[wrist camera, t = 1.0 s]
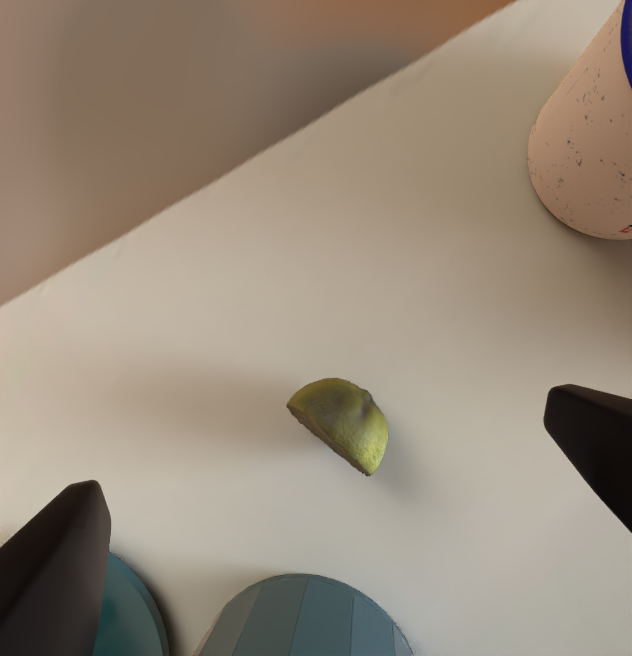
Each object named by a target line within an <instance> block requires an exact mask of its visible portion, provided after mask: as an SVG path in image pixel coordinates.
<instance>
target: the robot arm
mask: <svg viewBox="0 0 632 656" xmlns="http://www.w3.org/2000/svg"><path fill="white" fill-rule="evenodd" d="M544 426H545V428H546V430H547V432H548V433H549V434H550V436H551V437H552V438H553V440H554V441H555V442H556V443H557V445H558V446H559V447H560V449H561V450H562V451H563V453H564V454H565V455H566V456H567V458H568V459H569V460H570V462H571V463H572V464H573V465H574V467H575V468H576V469H577V471H578V472H579V473H580V474H581V476H582V477H583V478H584V480H585V481H586V482H587V483H588V485H589V486H590V487H591V488H592V490H593V491H594V492H595V493H596V494H597V495H598V497H599V498H600V499H601V500H602V501H603V502H604V503H605V504H606V505H607V507H608V508H609V509H610V510H611V511H612V512H613V513H614V514H615V515H616V516H617V517H618V519H619V520H620V521H621V522H622V523H623V524H624V525H625V526H626V527H627V528H628V529H629V531H630V532H631V533H632V399H629V398H625V397H621V396H617V395H613V394H609V393H605V392H601V391H597V390H593V389H589V388H585V387H581V386H577V385H573V384H565V385H561V386H556V387H553V388H551V389H550V391H549V393H548V397H547V402H546V408H545V413H544ZM110 535H111V517H110V513H109V510H108V507H107V504H106V501H105V498H104V495H103V492H102V489H101V486H100V484H99V483H98V482H97V481H95V480H88V481H83V482H78V483H74V484H71V485H69V486H67V487H66V488H65V489H64V490H63V491H62V492H61V493H60V494H58V495H57V496H56V497H55V498H54V499H53V500H52V501H51V502H50V503H49V504H47V505H46V506H45V507H44V508H43V509H42V510H41V511H40V512H39V513H38V514H37V515H35V516H34V517H33V518H32V519H31V520H30V521H29V522H28V523H27V524H26V525H25V526H23V527H22V528H21V529H20V530H19V531H18V532H17V533H16V534H15V535H14V536H12V537H11V538H10V539H9V540H8V541H7V542H6V543H5V544H4V545H3V546H2V547H0V656H92V655H93V651H94V646H95V642H96V637H97V632H98V628H99V623H100V616H101V609H102V601H103V593H104V584H105V576H106V568H107V559H108V551H109V543H110Z"/></svg>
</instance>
